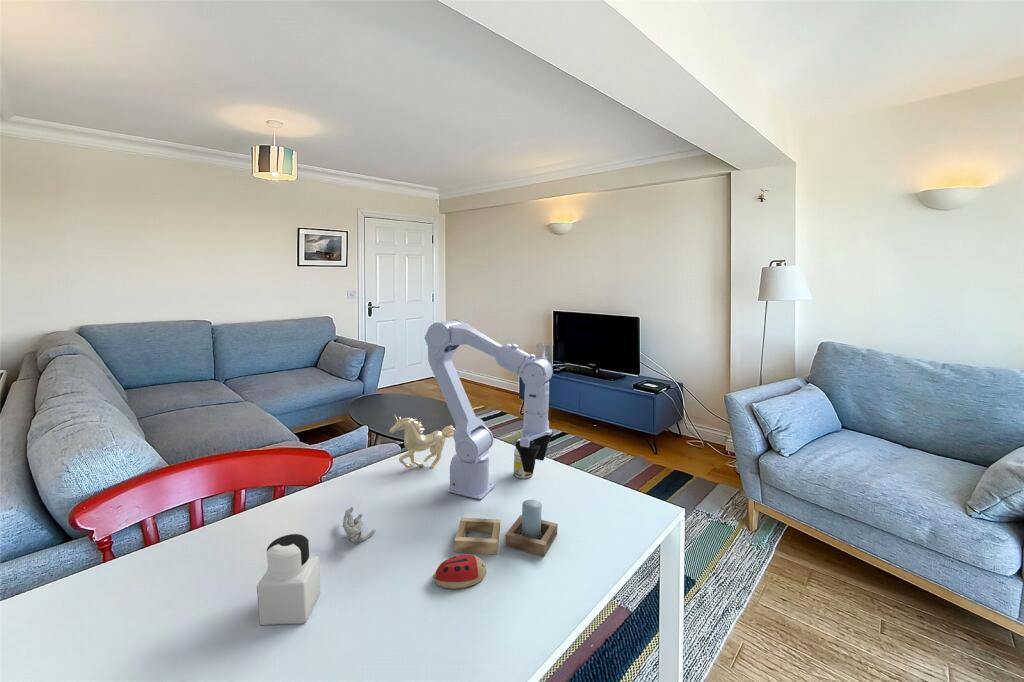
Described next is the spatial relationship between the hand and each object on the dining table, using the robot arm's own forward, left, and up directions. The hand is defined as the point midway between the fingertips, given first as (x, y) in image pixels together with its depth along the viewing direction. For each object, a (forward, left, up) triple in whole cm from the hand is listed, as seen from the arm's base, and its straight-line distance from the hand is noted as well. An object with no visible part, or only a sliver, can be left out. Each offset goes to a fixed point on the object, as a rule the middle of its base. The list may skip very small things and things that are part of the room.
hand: (534, 465), depth 109 cm
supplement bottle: (-8, +14, -10) cm, 19 cm away
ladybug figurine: (-3, -30, -10) cm, 32 cm away
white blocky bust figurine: (-24, -49, -10) cm, 55 cm away
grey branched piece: (-29, -28, -10) cm, 42 cm away
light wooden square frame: (-5, -19, -10) cm, 22 cm away
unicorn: (-35, +6, -10) cm, 37 cm away
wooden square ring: (+5, -14, -10) cm, 18 cm away
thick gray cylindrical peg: (+5, -14, -10) cm, 18 cm away
